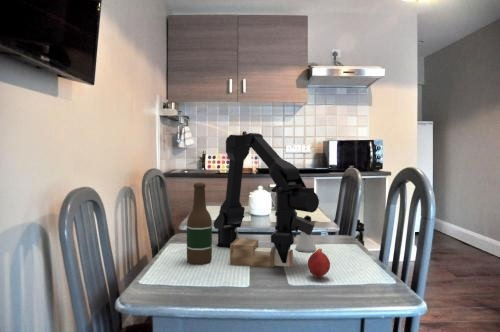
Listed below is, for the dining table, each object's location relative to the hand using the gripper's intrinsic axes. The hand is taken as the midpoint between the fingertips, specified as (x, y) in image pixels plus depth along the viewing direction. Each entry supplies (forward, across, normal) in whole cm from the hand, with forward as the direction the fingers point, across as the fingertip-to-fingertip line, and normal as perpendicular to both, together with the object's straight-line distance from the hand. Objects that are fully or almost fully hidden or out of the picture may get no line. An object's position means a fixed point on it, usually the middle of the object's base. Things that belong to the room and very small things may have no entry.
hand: (285, 260), depth 107 cm
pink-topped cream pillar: (+1, 0, +5) cm, 5 cm away
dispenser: (+1, 0, +9) cm, 9 cm away
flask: (+2, +18, -5) cm, 19 cm away
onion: (+1, -10, -10) cm, 14 cm away
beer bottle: (+1, -3, +26) cm, 26 cm away
